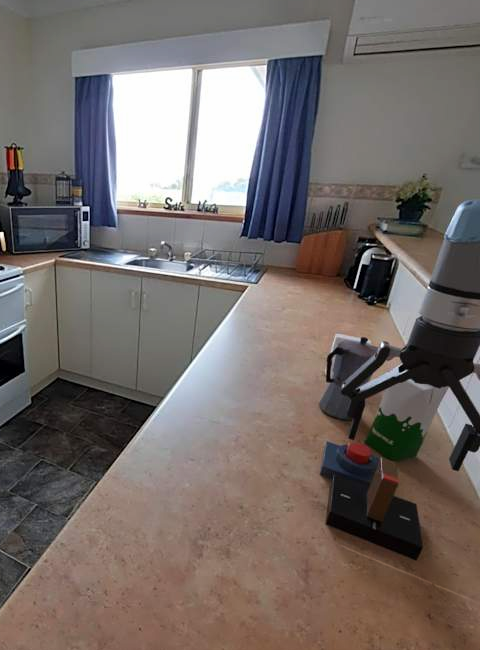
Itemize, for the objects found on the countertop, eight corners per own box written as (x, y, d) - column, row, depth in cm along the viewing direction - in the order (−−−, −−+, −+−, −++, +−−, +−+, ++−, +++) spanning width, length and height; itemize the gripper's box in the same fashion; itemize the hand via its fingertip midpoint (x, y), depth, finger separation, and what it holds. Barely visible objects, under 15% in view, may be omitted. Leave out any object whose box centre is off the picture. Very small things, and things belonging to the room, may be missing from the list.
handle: (366, 493, 70) (381, 456, 66) (381, 498, 69) (396, 460, 65) (366, 516, 65) (382, 477, 61) (382, 522, 64) (399, 483, 60)
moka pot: (375, 416, 98) (402, 342, 89) (328, 428, 92) (353, 350, 84) (343, 396, 106) (365, 327, 97) (298, 406, 100) (318, 333, 92)
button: (368, 455, 78) (371, 447, 77) (368, 467, 75) (371, 458, 74) (345, 448, 80) (348, 439, 79) (345, 459, 77) (347, 451, 76)
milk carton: (423, 458, 84) (460, 375, 76) (393, 467, 81) (428, 382, 73) (385, 433, 91) (416, 355, 83) (356, 440, 88) (385, 361, 80)
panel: (410, 516, 69) (416, 502, 68) (416, 561, 61) (423, 547, 60) (329, 486, 75) (334, 473, 74) (325, 524, 67) (330, 511, 65)
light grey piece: (357, 372, 119) (369, 336, 114) (359, 386, 111) (372, 347, 106) (324, 365, 122) (335, 329, 117) (324, 378, 114) (335, 340, 109)
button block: (382, 468, 80) (388, 453, 79) (383, 497, 73) (390, 481, 71) (323, 449, 85) (328, 434, 83) (319, 474, 78) (324, 458, 76)
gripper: (345, 311, 55) (311, 435, 64) (591, 355, 45) (510, 496, 53) (348, 298, 61) (316, 413, 70) (565, 333, 51) (495, 464, 59)
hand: (399, 449), depth 62 cm, fingers open, 13 cm apart
